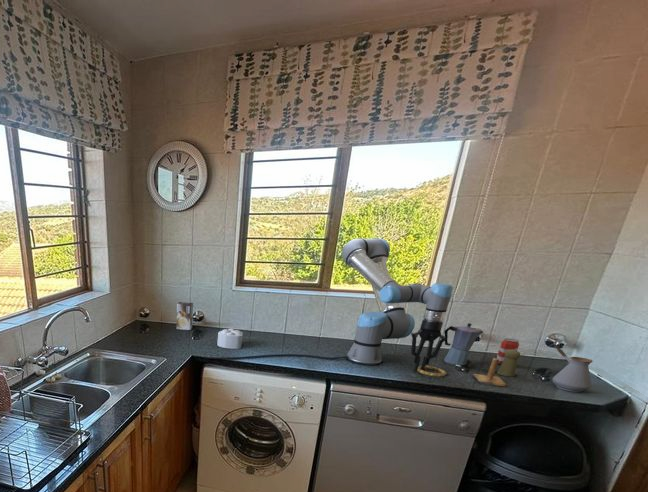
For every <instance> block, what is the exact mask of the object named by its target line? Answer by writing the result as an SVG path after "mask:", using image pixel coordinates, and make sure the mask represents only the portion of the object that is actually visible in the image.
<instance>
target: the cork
mask: <svg viewBox="0 0 648 492" xmlns="http://www.w3.org/2000/svg"><path fill="white" fill-rule="evenodd" d="M520 358H521V352H520V351H518V350H517V351H514V350H508V351H506V352H505V359H504V360H503V362H502V364H500V366H499V368H498V370H497V372H496V373H497V374H498V375H501V376H504V377H515V375H516V369H517V363H518V359H520Z"/></svg>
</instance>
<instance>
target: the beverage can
mask: <svg viewBox="0 0 648 492" xmlns="http://www.w3.org/2000/svg"><path fill="white" fill-rule="evenodd" d="M519 341H520V340H518V339H515V338H509V337H508V338H507V337H505V338H504V339H503V340H502V341H501V343H500V346H499V348H498V352H497V356H496V357H495V358H497V359H499V361H498V364H499V365H501V364H502V362H503V360H504V359H505V352H506V351H508V350H514V351H518V349H519V346H520V343H519ZM498 364H497V365H498Z"/></svg>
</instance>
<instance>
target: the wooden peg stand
mask: <svg viewBox="0 0 648 492" xmlns="http://www.w3.org/2000/svg"><path fill="white" fill-rule="evenodd" d="M498 361H499V359H497V358H496V357H493V358H492V361H491V363H490V366H489V368H488V372H487V374H479V373H473V376H474V377H475V378H476V379H477V381H478V382H480V383H487V384H491V385H492V386H498V387H506V386H507V383H506V382H505V381H504V380H502V378H500V377H499V376H495V372H496V369H497V367H498Z"/></svg>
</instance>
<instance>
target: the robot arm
mask: <svg viewBox="0 0 648 492" xmlns="http://www.w3.org/2000/svg"><path fill="white" fill-rule="evenodd" d="M341 251H342V252H341V257H342V260H343V262H344V263H345V264H346V265H347V266H348V267H349V268H354V269H355V270H356V271H357V272H358V273H359V274H360V275H361V276H362V278H364V279H365V280H366V281H367V282H368V283H369V284H370V285H371V289H372V292H373V295H374V298H375V301H376V304H377V307H378V310H379V311H367V312H366V311H365V312H363V313H361V314H360V315H359V317H358V320H357V324H356V330H355V335H354V339H353V344H352V345H351V347H350V349H349V350H348V351H347V354H346V356H345V355H344V356H334V357H333V356H332V357H330V356H322V355H312V354H299V353H298V354H297V353H279V354H278V353H276V354H260V355H248V356H247V355H246V356H229V357H228V356H227V357H226V356H223V357H222V356H205V359H209V360H238V359H252V358H253V359H255V358H266V357H267V358H268V357H309V358H310V357H311V358H318V359H325V360H339V359H346V360H349V361H350V362H351V363H355V364H359V365H363V366H377V365H380V364H381V363H382V361H383V357H382V349H381V346H382V341H383V340H392V339H393V340H399V339H404V338H407V337H409V336H410V335H411V349H410V353H411V356H414V358H413V364H415V365H414V368H413V369H414V372H418V371H417V370H418V367H419V366H421V370H423V371H425V370H426V369H425V366H429V364H430V360H431V359H434V358H435V359H436V357H437V356H438V353H439V352H440V349H441V347H442V345H443V344H444V343H445V340H446V339H447V338H446V337H445V335H443V334H442V328H443V324H444V320H445V318H446V314H447V311H448V307H449V305H450V301H451V299H452V296H453V289H454V286H453V285H452V284H449V283H441V282H435V283H433V284H432V285H431V286H429V285H425V284H421V283H410V284H408V285H404V284H403V285H401V284H399V282H398V281H396V280H395V279H394V278H393V277H391V275H390V273H389V269H388V267H387V263H388V260H389V256H390V252H391V246H390V244H389V243H388V241H387V240H386V239H383V238H376V237H374V238H354V239H351V240H349V241H348V242H347V243H346V244H344V246H343V248H342V250H341ZM404 303H406V304H407V303H420V304H424V305H426V306H425V310H424V313H423V317H422V318H423V319H422V320H421V324H420V327H419V329H418V330H417V331H416V332H413V331H414V329H415V325H416V323H415V322H416V321H415V318H414V317H413V315H411V314H410V313H406V309H405V307H404V306H401V305H400V304H404ZM418 337H419V338H420V341H419V344H418V346H417V338H418ZM437 339H438V341H437V342H436V345H435V346H434V343H435V341H436V340H437ZM447 340H448V339H447ZM426 342H428V345H427V351H426V356H424V357H423V360H422V363H421V365H420V362H421V353H422V350H423V348H424V345H425V344H426ZM416 347H417V348H416ZM433 347H434V349H433Z"/></svg>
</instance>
